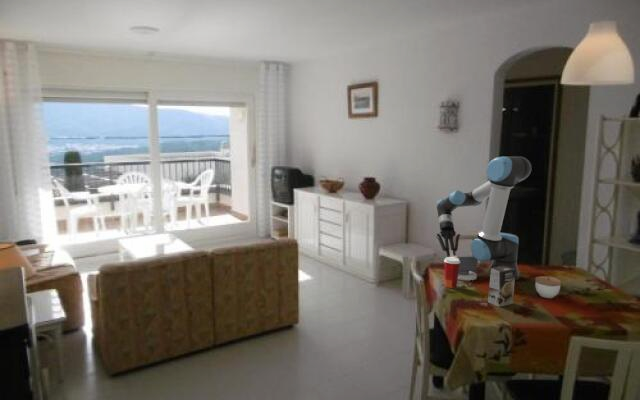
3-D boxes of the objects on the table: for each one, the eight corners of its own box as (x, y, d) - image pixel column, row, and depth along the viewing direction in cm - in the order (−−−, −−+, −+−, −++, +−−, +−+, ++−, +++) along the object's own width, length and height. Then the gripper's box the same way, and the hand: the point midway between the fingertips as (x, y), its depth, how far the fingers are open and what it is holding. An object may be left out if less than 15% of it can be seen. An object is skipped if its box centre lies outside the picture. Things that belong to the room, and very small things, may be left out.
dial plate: (480, 276, 239) (481, 272, 239) (470, 282, 228) (470, 279, 228) (455, 270, 248) (456, 267, 248) (444, 276, 237) (444, 273, 237)
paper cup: (457, 284, 226) (458, 257, 224) (460, 289, 219) (462, 261, 216) (441, 283, 227) (442, 256, 225) (443, 288, 219) (445, 260, 217)
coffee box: (499, 307, 197) (501, 271, 195) (487, 302, 203) (490, 267, 200) (513, 303, 201) (516, 269, 199) (501, 298, 207) (504, 265, 204)
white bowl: (536, 290, 219) (538, 271, 218) (561, 295, 213) (562, 275, 212) (531, 296, 210) (533, 277, 209) (557, 301, 204) (559, 282, 203)
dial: (472, 270, 242) (473, 254, 240) (478, 274, 236) (479, 257, 235) (448, 271, 240) (449, 254, 238) (453, 275, 234) (454, 258, 232)
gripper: (456, 227, 255) (462, 265, 242) (433, 227, 255) (438, 265, 242) (459, 220, 249) (466, 259, 235) (435, 220, 249) (441, 258, 236)
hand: (452, 262), depth 239 cm, fingers closed
